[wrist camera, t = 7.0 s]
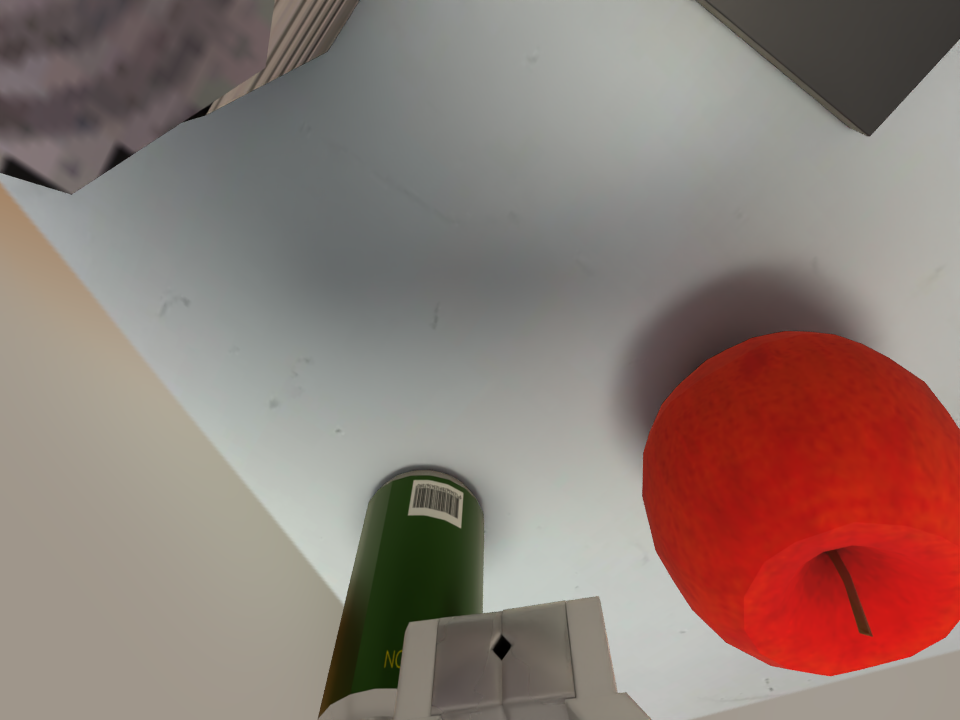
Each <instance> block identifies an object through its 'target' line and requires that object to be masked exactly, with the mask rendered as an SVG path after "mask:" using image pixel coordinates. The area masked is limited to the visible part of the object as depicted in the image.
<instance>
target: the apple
mask: <svg viewBox="0 0 960 720" xmlns="http://www.w3.org/2000/svg"><path fill="white" fill-rule="evenodd" d="M642 497H643V501H644V505H645V509H646V513H647V517H648V521H649V525H650V529H651V534H652V538H653V542H654V546H655V550H656V552H657V554H658V556H659V557H660V559H661V561H662V562H663V564H664V566H665V568H666V569H667V571H668V573H669V574H670V576H671V578H672V580H673V581H674V583H675V584H676V586H677V587H678V589H679V590H680V592H681V594H682V595H683V597H684V598H685V600H686V601H687V603H688V604H689V606H690V607H691V609H692V610H693V611H694V612H695V613H696V614H697V615H698V616H699V617H700V618H701V619H702V620H703V621H704V622H705V623H706V624H707V625H708V626H709V627H711V628H712V629H713V630H714V631H715V632H716V633H717V634H718V635H719V636H720V637H721V638H722V639H723V640H724V641H725V642H726V643H728V644H730V645H732V646H734V647H736V648H738V649H740V650H742V651H743V652H745V653H747V654H749V655H751V656H753V657H755V658H757V659H759V660H761V661H763V662H765V663H767V664H768V665H770V666H775V667H780V668H785V669H790V670H796V671H801V672H807V673H813V674H818V675H826V676H834V675H838V674H843V673H848V672H852V671H857V670H861V669H865V668H869V667H873V666H877V665H880V664H884V663H888V662H892V661H896V660H900V659H904V658H908V657H911V656H913V655H915V654H917V653H918V652H920V651H922V650H924V649H925V648H927V647H929V646H931V645H933V644H934V643H936V642H938V641H940V640H942V639H943V638H945V637H946V636H947V635H948V634H949V633H950V632H951V630H952V629H953V628H954V627H955V625H956V624H957V623H958V622H959V620H960V429H959V428H958V426H957V425H956V423H955V422H954V420H953V419H952V417H951V416H950V414H949V413H948V411H947V410H946V409H945V407H944V406H943V405H942V404H941V402H940V401H939V400H938V398H937V397H936V396H935V394H934V393H933V392H932V391H931V389H930V388H929V387H928V385H927V384H926V383H925V382H924V381H922V380H921V379H919V378H918V377H917V376H915V375H914V374H912V373H911V372H909V371H908V370H906V369H905V368H903V367H902V366H900V365H899V364H897V363H896V362H894V361H893V360H891V359H890V358H888V357H886V356H884V355H883V354H881V353H879V352H877V351H875V350H873V349H871V348H869V347H867V346H865V345H863V344H861V343H858V342H855V341H852V340H849V339H847V338H844V337H841V336H838V335H835V334H826V333H817V332H806V331H783V332H778V333H773V334H768V335H763V336H758V337H753V338H750V339H748V340H746V341H744V342H742V343H739V344H737V345H735V346H733V347H731V348H728V349H726V350H724V351H723V352H721V353H719V354H717V355H715V356H713V357H711V358H709V359H707V360H706V361H705V362H704V363H702V364H701V365H700V366H699V367H698V368H697V369H696V370H695V371H693V372H692V373H691V374H690V375H689V376H688V377H687V378H686V379H684V380H683V381H682V382H681V383H680V384H679V385H678V386H677V387H676V388H675V389H674V390H673V392H672V393H671V394H670V395H669V396H668V397H667V399H666V400H665V401H664V402H663V403H662V405H661V407H660V410H659V412H658V414H657V416H656V419H655V421H654V423H653V425H652V428H651V430H650V432H649V435H648V439H647V442H646V446H645V449H644V452H643V489H642Z"/></svg>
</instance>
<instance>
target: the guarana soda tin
mask: <svg viewBox="0 0 960 720" xmlns="http://www.w3.org/2000/svg"><path fill="white" fill-rule="evenodd" d="M483 565H484V515H483V512H482V509H481V507H480V505H479V503H478V501H477V499H476V498H475V496H474V495H473V493H472V492H471V491H470V490H469V489H468V488H467V487H466V486H465V485H464V484H463V483H462V482H461V481H460V480H458V479H456V478H454V477H452V476H450V475H448V474H446V473H441V472H437V471H433V470H413V471H410V472H406V473H403V474H400V475H397V476H396V477H394V478H393V479H391V480H390V481H388V482H387V483H385V484H384V485H383V486H382V487H381V488H380V489H379V490H378V491H377V492H376V494H375V495H374V496H373V497H372V499H371V500H370V501H369V504H368V508H367V512H366V516H365V520H364V524H363V528H362V533H361V537H360V541H359V545H358V550H357V554H356V558H355V562H354V567H353V571H352V575H351V579H350V584H349V588H348V592H347V597H346V601H345V605H344V609H343V614H342V618H341V622H340V627H339V631H338V635H337V639H336V644H335V648H334V652H333V656H332V660H331V665H330V669H329V673H328V678H327V682H326V686H325V690H324V695H323V699H322V703H321V707H320V712H319V716H318V720H393V719H394V711H395V704H396V696H397V689H398V681H399V674H400V666H401V658H402V651H403V643H404V636H405V631H406V629H407V626H408V624H409V622H415V621H423V620H431V619H439V618H446V617H455V616H463V615H472V614H481V613H483Z"/></svg>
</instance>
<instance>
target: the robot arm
mask: <svg viewBox="0 0 960 720" xmlns="http://www.w3.org/2000/svg"><path fill="white" fill-rule="evenodd" d="M393 720H651V718H650V717H649V716H648V715H647V714H646V713H645V712H644V711H643V710H642V709H641V708H640V707H639V706H638V705H637V703H636V702H635V701H634V700H633V699H632V698H631V697H630V696H629V695H628V694H627V693H626V692H625V693H618V692H617V686H616V681H615V675H614V670H613V665H612V660H611V655H610V649H609V644H608V639H607V634H606V628H605V623H604V618H603V613H602V608H601V602H600V599H599V596H596V597H589V598H582V599H575V600H568V601H565V600H564V601H558V602H551V603H545V604H538V605H532V606H525V607H519V608H512V609H506V610H503V611H499V612H490V613H481V614H472V615H463V616H455V617H446V618H439V619H431V620H423V621H415V622H409V624H408V626H407V629H406V631H405V636H404V643H403V651H402V658H401V666H400V674H399V681H398V689H397V696H396V704H395V711H394V719H393Z"/></svg>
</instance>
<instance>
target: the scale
mask: <svg viewBox="0 0 960 720" xmlns="http://www.w3.org/2000/svg"><path fill="white" fill-rule="evenodd" d="M696 1H697V2H698V3H699V4H701V5H702V6H703V7H704V8H705V9H707V10H708V11H709V12H710V13H712V14H713V15H714V16H715V17H716V18H718V19H719V20H720V21H721V22H722V23H724V24H725V25H726V26H727V27H728V28H730V29H731V30H732V31H733V32H734V33H736V34H737V35H738V36H739V37H741V38H742V39H743V40H744V41H745V42H747V43H748V44H749V45H750V46H751V47H753V48H754V49H755V50H756V51H757V52H759V53H760V54H761V55H762V56H763V57H765V58H766V59H767V60H768V61H769V62H771V63H772V64H773V65H774V66H776V67H777V68H778V69H779V70H780V71H782V72H783V73H784V74H785V75H786V76H788V77H789V78H790V79H791V80H792V81H794V82H795V83H796V84H797V85H798V86H800V87H801V88H802V89H803V90H805V91H806V92H807V93H808V94H809V95H811V96H812V97H813V98H814V99H815V100H817V101H818V102H819V103H820V104H821V105H823V106H824V107H825V108H826V109H827V110H829V111H830V112H831V113H832V114H834V115H835V116H836V117H837V118H838V119H840V120H841V121H842V122H843V123H844V124H846V125H847V126H848V127H849V128H851V129H853V130H855V131H857V132H860V133H862V134H864V135H866V136H871V135H872V134H873V133H874V131H875V130H876V129H877V128H878V127H879V126H880V125H881V124H882V123H883V122H884V121H885V120H886V118H887V117H888V116H889V115H890V114H891V113H892V112H893V111H894V110H895V109H896V108H897V107H898V105H899V104H900V103H901V102H902V101H903V100H904V99H905V98H906V97H907V96H908V95H909V93H910V92H911V91H912V90H913V89H914V88H915V87H916V86H917V85H918V84H919V83H920V82H921V80H922V79H923V78H924V77H925V76H926V75H927V74H928V73H929V72H930V71H931V70H932V69H933V67H934V66H935V65H936V64H937V63H938V62H939V61H940V60H941V59H942V58H943V57H944V56H945V54H946V53H947V52H948V51H949V50H950V49H951V48H952V47H953V46H954V45H955V44H956V43H957V41H958V40H959V39H960V0H696Z"/></svg>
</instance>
